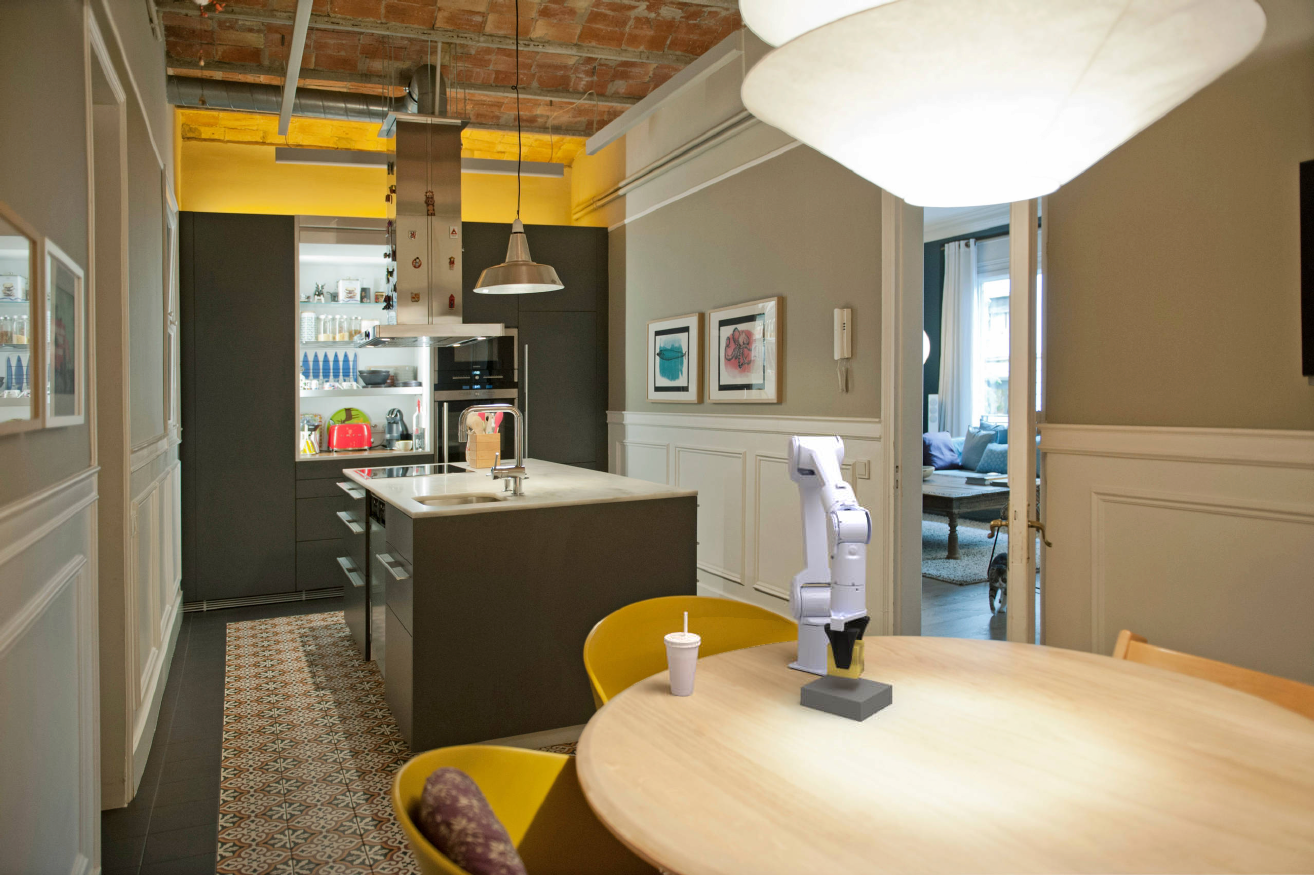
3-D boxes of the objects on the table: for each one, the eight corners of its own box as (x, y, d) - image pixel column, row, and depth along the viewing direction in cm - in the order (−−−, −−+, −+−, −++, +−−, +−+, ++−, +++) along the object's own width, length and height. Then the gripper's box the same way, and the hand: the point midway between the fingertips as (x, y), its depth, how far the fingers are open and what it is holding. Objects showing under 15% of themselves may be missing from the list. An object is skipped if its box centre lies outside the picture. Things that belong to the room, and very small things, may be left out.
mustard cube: (834, 666, 142) (834, 637, 142) (864, 670, 140) (864, 640, 140) (827, 674, 138) (827, 644, 138) (857, 678, 136) (857, 648, 136)
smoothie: (701, 699, 141) (701, 617, 141) (663, 698, 142) (663, 616, 141) (700, 686, 148) (700, 608, 147) (663, 686, 148) (664, 607, 147)
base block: (833, 691, 147) (833, 671, 147) (892, 706, 140) (892, 685, 140) (800, 708, 139) (800, 687, 139) (860, 724, 132) (861, 702, 131)
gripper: (835, 572, 147) (834, 649, 147) (812, 588, 134) (811, 672, 134) (876, 576, 144) (874, 654, 144) (856, 592, 131) (855, 678, 131)
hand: (847, 663), depth 139 cm, fingers closed on mustard cube, 5 cm apart
